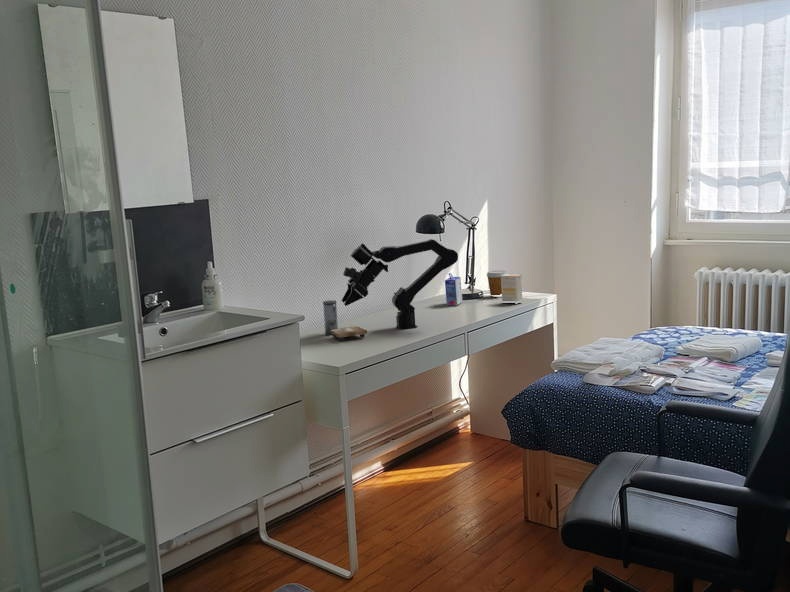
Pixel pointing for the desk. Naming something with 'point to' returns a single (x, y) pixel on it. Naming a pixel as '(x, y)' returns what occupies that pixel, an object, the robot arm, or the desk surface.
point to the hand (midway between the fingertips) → (343, 303)
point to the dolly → (348, 332)
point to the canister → (330, 316)
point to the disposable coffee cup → (495, 281)
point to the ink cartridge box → (453, 290)
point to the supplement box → (511, 287)
